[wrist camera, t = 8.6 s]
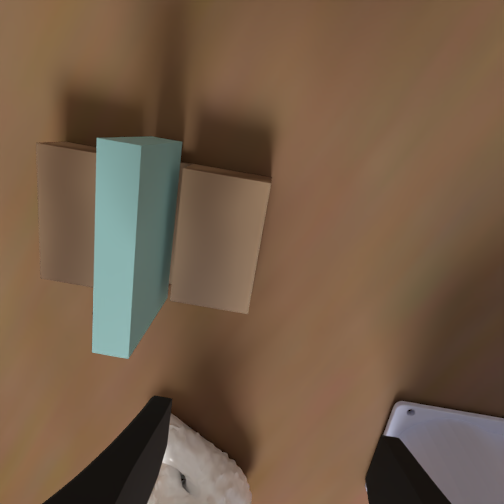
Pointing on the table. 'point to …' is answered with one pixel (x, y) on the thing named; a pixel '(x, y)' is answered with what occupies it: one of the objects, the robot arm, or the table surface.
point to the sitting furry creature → (197, 472)
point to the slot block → (185, 227)
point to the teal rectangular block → (132, 237)
